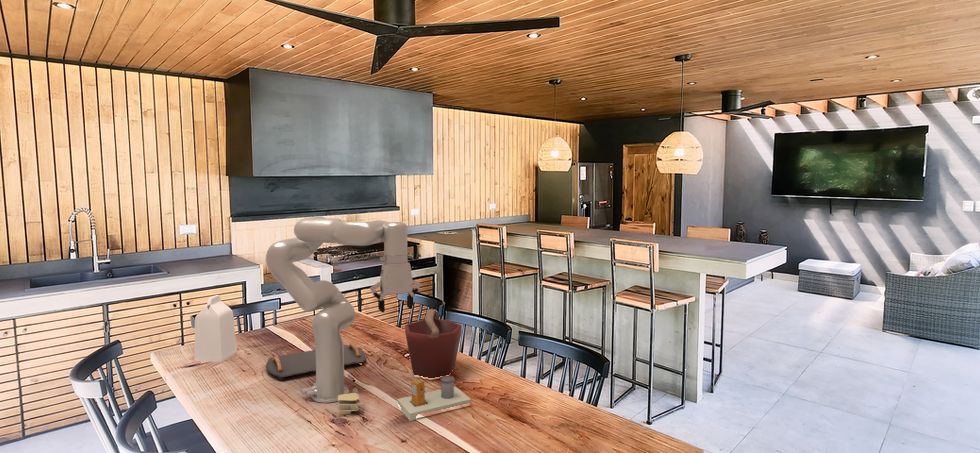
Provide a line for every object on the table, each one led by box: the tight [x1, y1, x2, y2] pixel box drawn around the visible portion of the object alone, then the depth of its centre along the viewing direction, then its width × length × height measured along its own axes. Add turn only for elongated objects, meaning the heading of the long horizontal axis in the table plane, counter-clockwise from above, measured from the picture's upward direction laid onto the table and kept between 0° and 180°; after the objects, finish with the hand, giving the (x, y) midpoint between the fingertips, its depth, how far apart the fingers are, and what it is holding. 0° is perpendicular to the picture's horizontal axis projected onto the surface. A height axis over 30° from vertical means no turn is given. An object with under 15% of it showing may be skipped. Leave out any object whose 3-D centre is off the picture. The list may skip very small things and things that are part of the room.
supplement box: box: [410, 378, 426, 407], centre depth 166 cm, size 3×3×10 cm
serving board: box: [265, 342, 367, 382], centre depth 205 cm, size 39×23×6 cm, turn 123°
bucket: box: [404, 309, 463, 378], centre depth 198 cm, size 24×22×25 cm
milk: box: [194, 294, 238, 363], centre depth 212 cm, size 12×12×26 cm
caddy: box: [396, 375, 472, 422], centre depth 169 cm, size 22×12×9 cm, turn 120°
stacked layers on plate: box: [337, 392, 361, 416], centre depth 164 cm, size 10×9×6 cm
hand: (396, 309), depth 167 cm, fingers open, 9 cm apart
